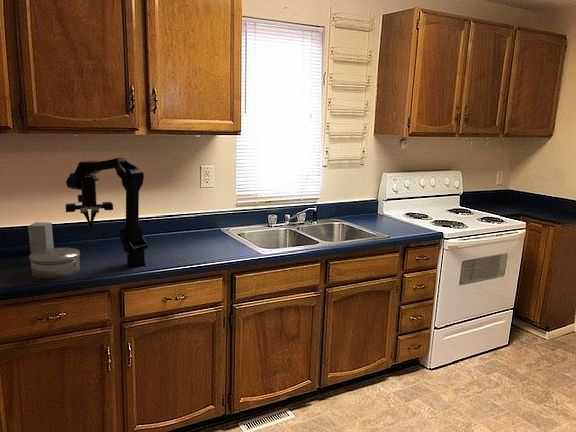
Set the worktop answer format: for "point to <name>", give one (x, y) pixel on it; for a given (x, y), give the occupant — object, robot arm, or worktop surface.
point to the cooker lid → (54, 255)
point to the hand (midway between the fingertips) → (90, 226)
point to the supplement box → (40, 236)
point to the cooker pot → (55, 269)
